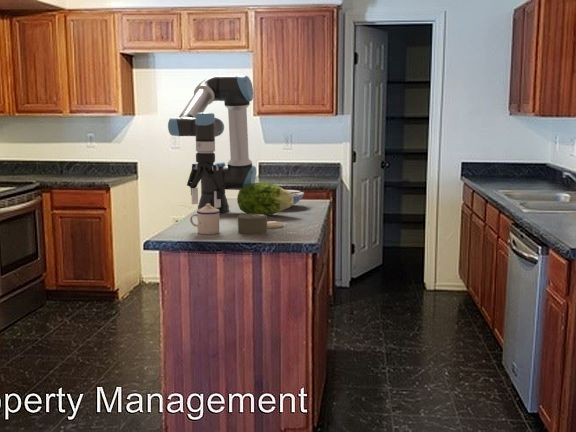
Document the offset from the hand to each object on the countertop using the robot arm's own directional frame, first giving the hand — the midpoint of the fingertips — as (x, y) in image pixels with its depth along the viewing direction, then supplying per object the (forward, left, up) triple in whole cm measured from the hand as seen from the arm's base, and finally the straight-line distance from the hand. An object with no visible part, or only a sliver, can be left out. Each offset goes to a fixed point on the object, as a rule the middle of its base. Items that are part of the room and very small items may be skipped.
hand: (206, 205), depth 248 cm
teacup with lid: (-1, 0, -11) cm, 11 cm away
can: (+13, +13, -11) cm, 22 cm away
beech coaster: (+9, +28, -11) cm, 31 cm away
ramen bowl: (-23, +70, -11) cm, 74 cm away
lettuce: (-10, +46, -11) cm, 48 cm away
